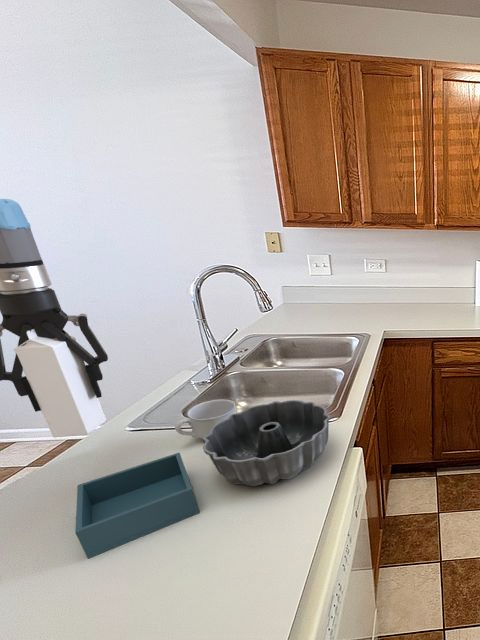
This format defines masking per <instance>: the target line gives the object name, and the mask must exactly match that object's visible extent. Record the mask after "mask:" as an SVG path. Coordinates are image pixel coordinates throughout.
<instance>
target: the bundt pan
mask: <svg viewBox="0 0 480 640" xmlns="http://www.w3.org/2000/svg"><path fill="white" fill-rule="evenodd" d="M330 420H331V416H330V415H329V414H328V412H327V408H326V407H325V406H323V405H318V404H316V403H315V402H314V401H303V400H301V399H290V400H284V401H277V400H275V401H271V402H268V403H263V404H256V405H253V406H250V407H247V408H245V409H243V410H241V411H239V412H237V413H235V414H231V415H230V416H229V417H228V418H227V419H225V420H223V421H221V422H219V423H217V424H216V425H214V426H213V427H212V428H211V430H210V433H209V434H208V435H206V436H205V437H203V439H202V440H203V442H204V443H203V445H202V450H203V452H204V453H205V454H206V455H207V456H209V458H210V460H211V462H212V464H213V465H214V468H215V469H216V470H217V472H218V473H219V474H220V475H222V476H224V477H225V479H226V480H227V481H228V482H229V483H231V484H235V485H240V484H244V485H245V486H250V487H255V486H260V485H263V484H264V483H267V484H269V485H271V486H273V485H275V484H276V483H277V482H278V481H279V480H290V479H293V478H295V477H296V476H297V475H298V474H300V473H301V471H308V470H309V469H311V468H312V467H313V464H314V462H316V461H318V460H319V459H320V458H321V457H322V456H323V454H324V452H325V448H326V445H327V444H328V441H329V427H330V426H329V424H330V423H329V422H330Z"/></svg>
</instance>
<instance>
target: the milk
mask: <svg viewBox="0 0 480 640" xmlns="http://www.w3.org/2000/svg"><path fill="white" fill-rule="evenodd" d="M27 336H28V338H29V340H27V341H26V342H24V343H23V344H25V343H26V344H25V345H24V346H21V345H23V344H21V345H20V346H18V345H17V346H16V347H15V348H14V349H13V351H14V353H15V354H16V353H17V355H18V358H19V360H20V362H21V364H22V367H23V373H24V375H25V376H26V378H27V380H28V382H29V384H30V387H31V389H32V391H33V393H34V395H35V398H36V400H37V402H38V404H39V407H40V409H41V411H40V412H41V413H42V415H43V418H44V421H45V422H46V424H47V427H48V429H49V432H50V434H51V435H52V438H65V437H74V436H85V435H86V436H87V435H89V434H91V433H92V432H93V431H94V430H95V429H97V428H98V427H99V426H101V425H102V424H103V423H104V422H106V421H107V417H106V415H105V413H104V411H103V410H104V409H103V407H102V405H101V402H100V399H99V398H97V397H96V395H95V392H94V389H93V387H92V384H91V382H90V379H89V376H88V374H87V371H86V365H87V364H86V362H85V361H84V360H83V359H81V358H80V357H79V356H78V355H77V354H75V353H74V352H73V351H72V350H71V349H70V348H68V347H67V344H66V342H65V341H62V342H61V341H59V340H58V339H57V338H56V337H55V338H52V339H51V338H44V337H38V336H37V334H36V332H35V330H34V329H32V330H31V332H30V330H29V331H27ZM69 336H70V337H71V338H72V339H73V340H74V341H76V342H77V339H76V337H74V336H72V335H69Z"/></svg>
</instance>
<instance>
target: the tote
mask: <svg viewBox="0 0 480 640" xmlns="http://www.w3.org/2000/svg"><path fill="white" fill-rule="evenodd" d="M76 490H77V491H76V492H77V493H76V512H75V513H76V514H75V532H74V533H75V535H76V537H77V539H78V541H79V543H80V545H81V547H82V550H83V552H84V554H85V556H86V558H87V559H91V558H94V557H96V556H98V555H101V554H103V553H105V552H108V551H110V550H113V549H115V548H118V547H120V546H124V545H125V544H127V543H129V542H132V541H135V540H137V539H139V538H143V537H145V536H147V535H149V534H152V533H154V532H156V531H160V530H161V529H164V528H166V527H169V526H171V525H173V524H176V523H179V522H180V521H184V520H186V519H188V518H190V517H192V516H195V515H196V516H197V514H200V513H201V512H200V511H201V510H200V508H199V505H198V502H197V499H196V496H195V493H194V489H193V486H192V484H191V481H190V478H189V475H188V473H187V470H186V467H185V464H184V461H183V458H182V455H181V453H180V452H176V453H172V454H170V455H166V456H163V457H161V458H158V459H153V460H151V461H147V462H145V463H141V464H139V465H136V466H132V467H129V468H126V469H123V470H120V471H116V472H113V473H111V474H107V475H104V476H101V477H97V478H95V479H92V480H89V481H86V482H83V483H80V484H77V489H76Z"/></svg>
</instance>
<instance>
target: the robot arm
mask: <svg viewBox="0 0 480 640" xmlns="http://www.w3.org/2000/svg"><path fill="white" fill-rule="evenodd" d="M51 286H52V280H51V278H50V275H49V273H48V270H47V268H46V265H45V263H44V261H43V258H42V256H41V253H40V251H39V248H38V245H37V242H36V240H35V237H34V233H33V231H32V229H31V223H30V222H29V221H28V219H27V217H26V214H25V213H24V210H23V209H22V207H21V205H20V203H19V202H17V201H16V200H13V199H11V198H0V314H1V317H2V321H1V322H0V382H2V381H9V382H11V383H12V384H13V386H14V388H15V390H16V392H17V395H18V396H20V397H25V396H27V397H28V399H29V401H30V403H31V406H32V407H33V410H34V412H35V413H36V412H42V411H41V409H40V407H39V404H38V402H37V400H36V398H35V395H34V393H33V391H32V389H31V387H30V384H29V382H28V380H27V378H26V375H25V376H23V373H24V371H23V367H22V364H21V362H20V360H19V358H18V355H17V353H15V357H14V361H13V365H12V369H11V371H7V369H6V363H5V357H4V352H3V351H4V350H3V345H2V339H1V337H2V336H3V335H4V332H3V331H4V330H6V331H8V332H10V333H11V334H14V335H15V336H17V337H19V339H18V342H17V347H18V346H20V345H21V344H23V343H24V342H26V341H27V340H29V338H28V336H27V331H29V330H30V332H31V330H32V329H34V330H35V332H36V334H37V336H38V337H44V338H51V339H52V338H55V337H56V338H57V339H58V340H59V341H61V342H62V341H65V342H66V344H67V347H68V348H70V349H71V350H72V351H73V352H74V353H75V354H77V355H78V356H79V357H80V358H81V359H83V360H84V363H85V365H86V371H87V374H88V376H89V379H90V382H91V384H92V387H93V389H94V392H95V395H96V397H97V398H98V399H99V398H102V397H103V396H102V395H103V394H102V391H101V388H100V385H99V383H98V382H99V381H103V378H104V377H103V373H102V369H101V367H100V364H102V363H104V362H108V360H109V356H108V354H107V352H106V350H105V349H104V347H103V346H102V344H101V343H100V341H99V340H98V338H97V336H96V335H95V332H93V330H92V328H91V327H90V325H89V321H88V315H87V314H86V313H80V314H67V313H66V312H65V311H63V309H62V307H61V304H60V301H59V299H58V297H57V294H56V292H55V290H54V289H53V288H51ZM68 322H71V323H72V324H73V326H75V327H79V329H80V332H81V333H82V334H83V336H84V338H85V340H86V341H87V342H88V344H89V345H90V347H91V348H92V350H93V351H94V353H95V354H96V356H93V355H92V354H91V353H90V352H89V351H88V350H86V348H85V347H83V346H82V345H81V344H80V343H79V342H77V340H76V341H74V340H73V339H72V338H71V337H70V336H71V335H70V334H69V333H68V332H67V331H66V330H64V329H65V327H66V325H67V323H68ZM25 344H26V343H25ZM25 344H23V345H21V346H24V345H25Z"/></svg>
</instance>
